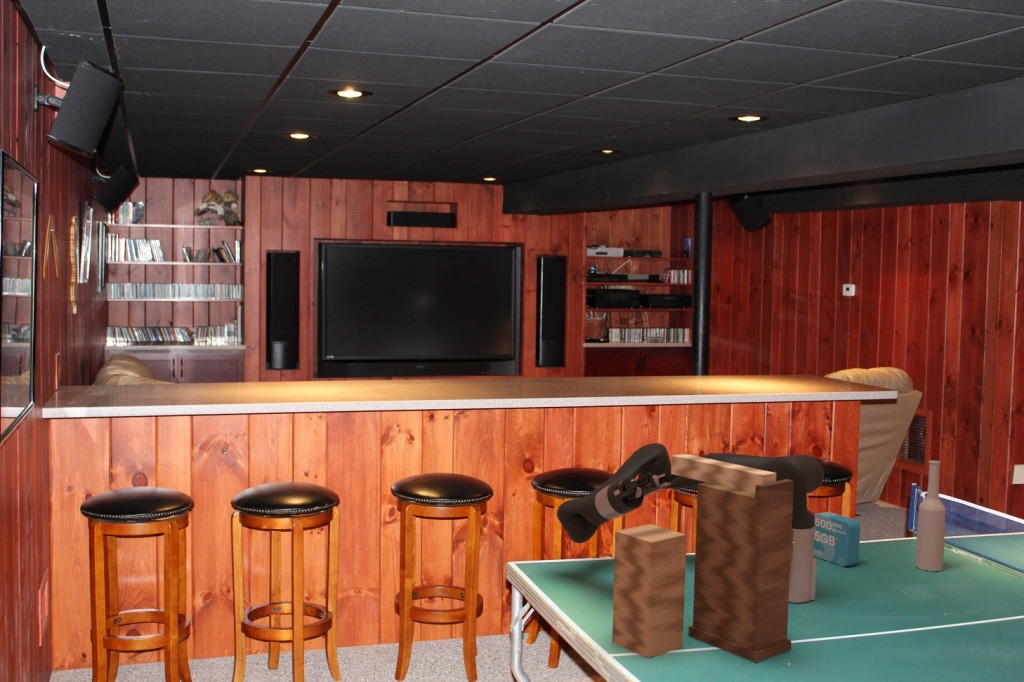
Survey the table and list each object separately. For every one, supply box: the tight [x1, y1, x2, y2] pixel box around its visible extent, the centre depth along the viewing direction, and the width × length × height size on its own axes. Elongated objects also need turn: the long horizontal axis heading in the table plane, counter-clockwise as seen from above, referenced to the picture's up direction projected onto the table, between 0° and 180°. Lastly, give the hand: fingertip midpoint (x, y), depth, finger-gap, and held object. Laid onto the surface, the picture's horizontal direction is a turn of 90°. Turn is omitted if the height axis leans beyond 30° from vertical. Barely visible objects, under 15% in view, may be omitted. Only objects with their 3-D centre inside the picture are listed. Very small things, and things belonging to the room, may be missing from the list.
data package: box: [813, 511, 861, 567], centre depth 259 cm, size 12×4×12 cm, turn 31°
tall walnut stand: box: [687, 479, 794, 663], centre depth 199 cm, size 17×11×34 cm, turn 39°
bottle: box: [914, 459, 947, 571], centre depth 253 cm, size 7×7×28 cm
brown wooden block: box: [671, 453, 776, 494], centre depth 203 cm, size 24×4×4 cm, turn 39°
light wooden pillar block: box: [611, 523, 687, 658], centre depth 198 cm, size 10×10×23 cm
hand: (665, 474), depth 215 cm, fingers open, 8 cm apart
